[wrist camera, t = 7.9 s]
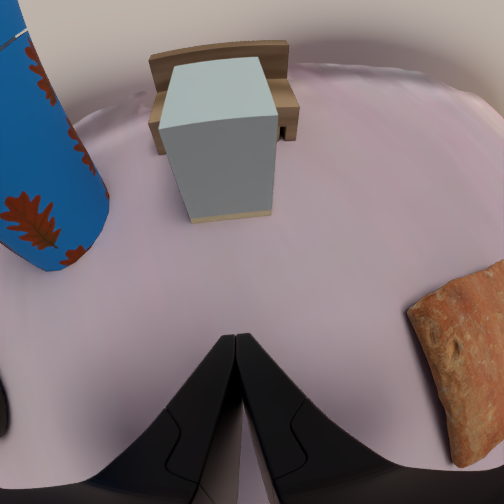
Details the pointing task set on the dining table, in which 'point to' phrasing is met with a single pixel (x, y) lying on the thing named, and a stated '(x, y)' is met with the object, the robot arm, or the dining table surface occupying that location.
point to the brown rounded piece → (467, 358)
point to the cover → (221, 138)
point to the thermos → (41, 161)
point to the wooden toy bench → (267, 51)
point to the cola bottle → (2, 413)
